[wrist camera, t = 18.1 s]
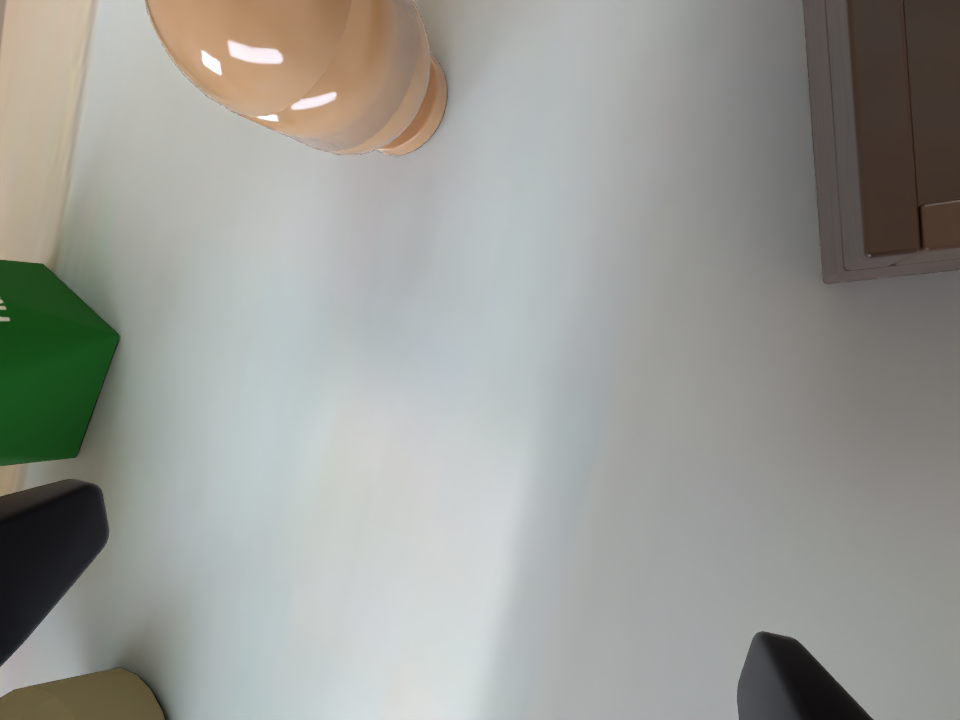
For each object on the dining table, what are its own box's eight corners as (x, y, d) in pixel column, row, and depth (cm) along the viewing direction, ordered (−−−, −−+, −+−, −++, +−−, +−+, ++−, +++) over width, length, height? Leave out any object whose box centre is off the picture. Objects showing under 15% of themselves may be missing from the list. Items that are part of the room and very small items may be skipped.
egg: (484, 21, 17) (282, -234, 10) (453, 187, 18) (240, 74, 10) (353, 22, 20) (100, -187, 12) (329, 172, 20) (75, 68, 12)
